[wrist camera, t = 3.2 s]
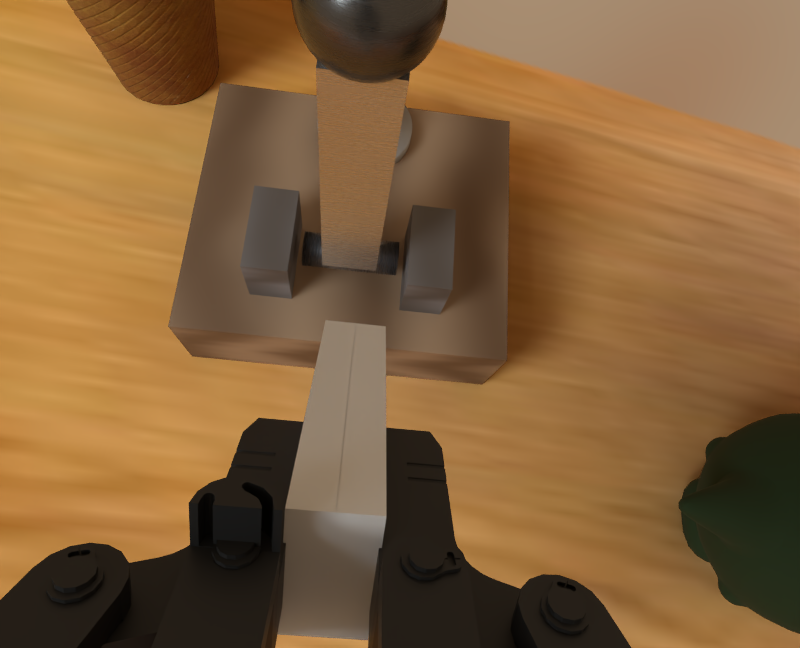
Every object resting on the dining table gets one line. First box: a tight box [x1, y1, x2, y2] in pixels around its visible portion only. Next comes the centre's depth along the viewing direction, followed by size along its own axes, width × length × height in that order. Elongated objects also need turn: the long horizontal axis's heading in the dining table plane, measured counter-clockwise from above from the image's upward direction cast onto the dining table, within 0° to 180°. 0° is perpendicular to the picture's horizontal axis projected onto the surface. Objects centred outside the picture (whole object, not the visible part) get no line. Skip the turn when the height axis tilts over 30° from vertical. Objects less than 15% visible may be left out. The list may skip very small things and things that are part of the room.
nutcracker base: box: [168, 83, 509, 384], centre depth 31 cm, size 16×14×8 cm
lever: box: [292, 0, 447, 276], centre depth 21 cm, size 4×4×17 cm
